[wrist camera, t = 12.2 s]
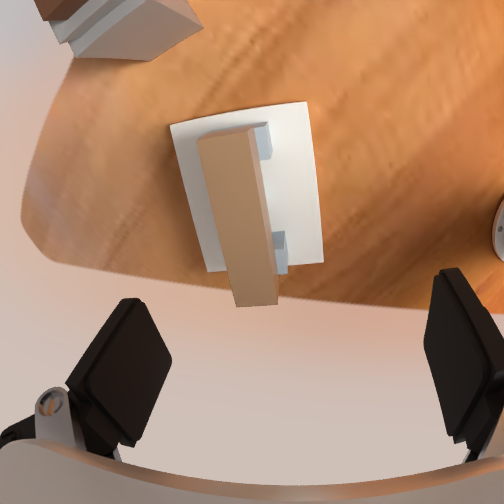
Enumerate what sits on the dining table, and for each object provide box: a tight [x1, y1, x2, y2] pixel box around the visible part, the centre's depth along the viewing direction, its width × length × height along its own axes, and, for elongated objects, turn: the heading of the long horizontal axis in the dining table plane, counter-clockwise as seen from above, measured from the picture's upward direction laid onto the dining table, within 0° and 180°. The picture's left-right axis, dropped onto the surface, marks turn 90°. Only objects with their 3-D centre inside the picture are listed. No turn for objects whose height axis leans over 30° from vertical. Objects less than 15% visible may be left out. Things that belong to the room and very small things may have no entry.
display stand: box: [170, 101, 324, 275], centre depth 32 cm, size 14×18×6 cm
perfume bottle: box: [34, 0, 204, 61], centre depth 18 cm, size 7×7×18 cm
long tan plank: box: [196, 125, 279, 307], centre depth 28 cm, size 4×16×4 cm, turn 10°
